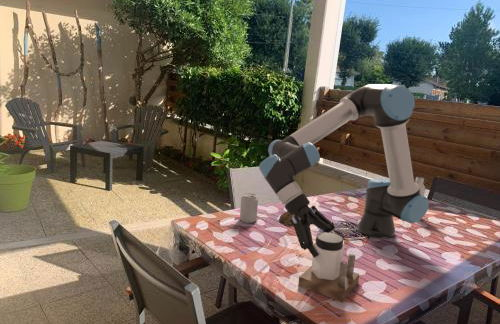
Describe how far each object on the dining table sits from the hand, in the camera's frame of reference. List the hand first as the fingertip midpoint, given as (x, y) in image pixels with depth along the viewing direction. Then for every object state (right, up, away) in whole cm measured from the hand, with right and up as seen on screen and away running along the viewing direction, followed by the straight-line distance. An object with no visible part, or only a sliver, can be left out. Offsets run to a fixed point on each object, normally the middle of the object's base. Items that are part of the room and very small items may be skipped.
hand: (333, 257), depth 115 cm
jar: (-2, -6, +3) cm, 7 cm away
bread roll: (-6, +2, +55) cm, 55 cm away
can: (-26, +3, +52) cm, 59 cm away
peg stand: (-1, -9, +2) cm, 9 cm away
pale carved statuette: (+55, +2, +70) cm, 89 cm away
